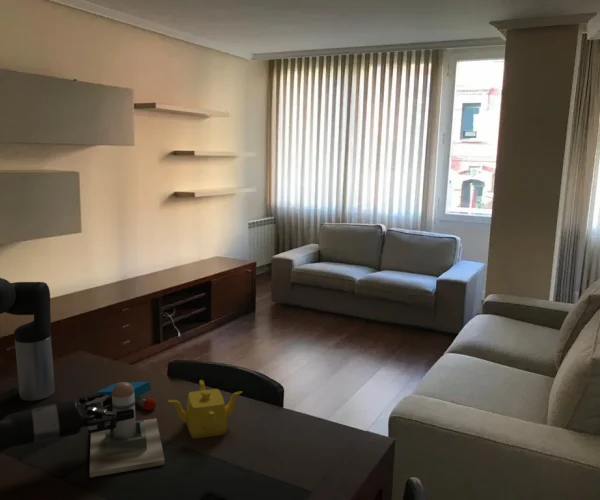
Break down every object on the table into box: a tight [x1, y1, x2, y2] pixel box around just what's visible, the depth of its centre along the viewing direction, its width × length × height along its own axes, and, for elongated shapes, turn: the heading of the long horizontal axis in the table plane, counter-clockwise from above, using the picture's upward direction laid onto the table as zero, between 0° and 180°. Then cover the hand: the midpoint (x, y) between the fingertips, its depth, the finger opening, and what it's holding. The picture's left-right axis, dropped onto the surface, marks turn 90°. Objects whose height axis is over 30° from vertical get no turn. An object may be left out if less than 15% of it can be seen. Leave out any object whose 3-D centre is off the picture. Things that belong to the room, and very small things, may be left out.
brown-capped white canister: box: [111, 381, 137, 441], centre depth 129 cm, size 5×5×16 cm
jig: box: [89, 417, 166, 478], centre depth 131 cm, size 20×16×4 cm
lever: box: [96, 381, 157, 412], centre depth 154 cm, size 7×7×18 cm
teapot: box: [167, 379, 243, 440], centre depth 141 cm, size 15×14×10 cm
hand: (129, 405), depth 130 cm, fingers open, 8 cm apart
